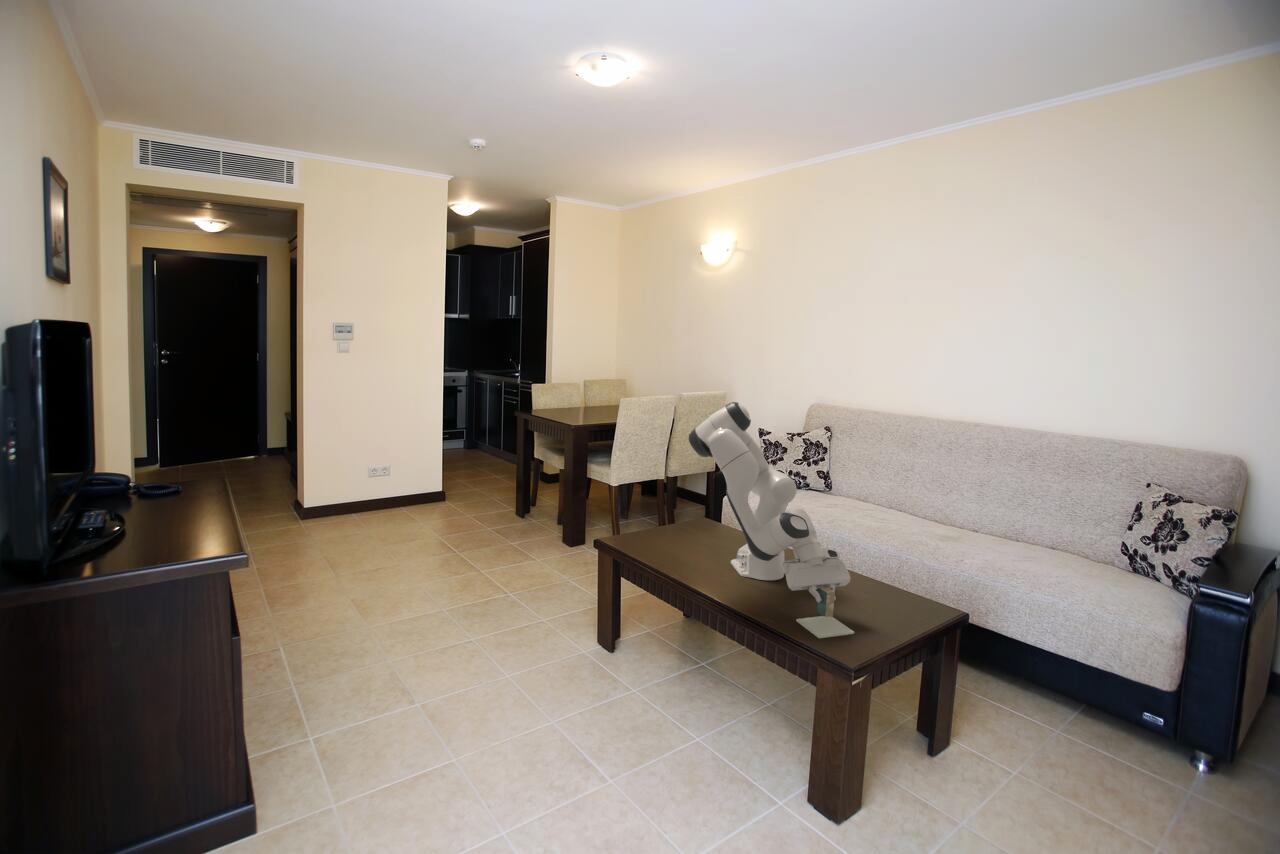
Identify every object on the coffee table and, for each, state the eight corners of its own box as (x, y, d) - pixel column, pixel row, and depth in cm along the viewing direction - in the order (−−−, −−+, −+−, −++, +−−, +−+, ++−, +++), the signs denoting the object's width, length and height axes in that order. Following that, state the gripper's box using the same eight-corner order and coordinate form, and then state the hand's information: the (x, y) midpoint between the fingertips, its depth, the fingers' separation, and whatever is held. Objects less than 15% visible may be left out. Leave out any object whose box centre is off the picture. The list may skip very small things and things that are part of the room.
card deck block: (824, 617, 191) (826, 592, 190) (817, 611, 195) (819, 587, 194) (832, 616, 192) (834, 592, 191) (824, 611, 195) (826, 587, 194)
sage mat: (796, 621, 198) (796, 619, 198) (829, 616, 202) (829, 615, 201) (819, 638, 186) (819, 636, 186) (854, 633, 190) (854, 631, 190)
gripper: (785, 555, 194) (800, 599, 186) (843, 551, 201) (860, 593, 193) (776, 565, 199) (791, 608, 191) (833, 560, 206) (850, 602, 198)
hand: (826, 601), depth 192 cm, fingers closed on card deck block, 3 cm apart
